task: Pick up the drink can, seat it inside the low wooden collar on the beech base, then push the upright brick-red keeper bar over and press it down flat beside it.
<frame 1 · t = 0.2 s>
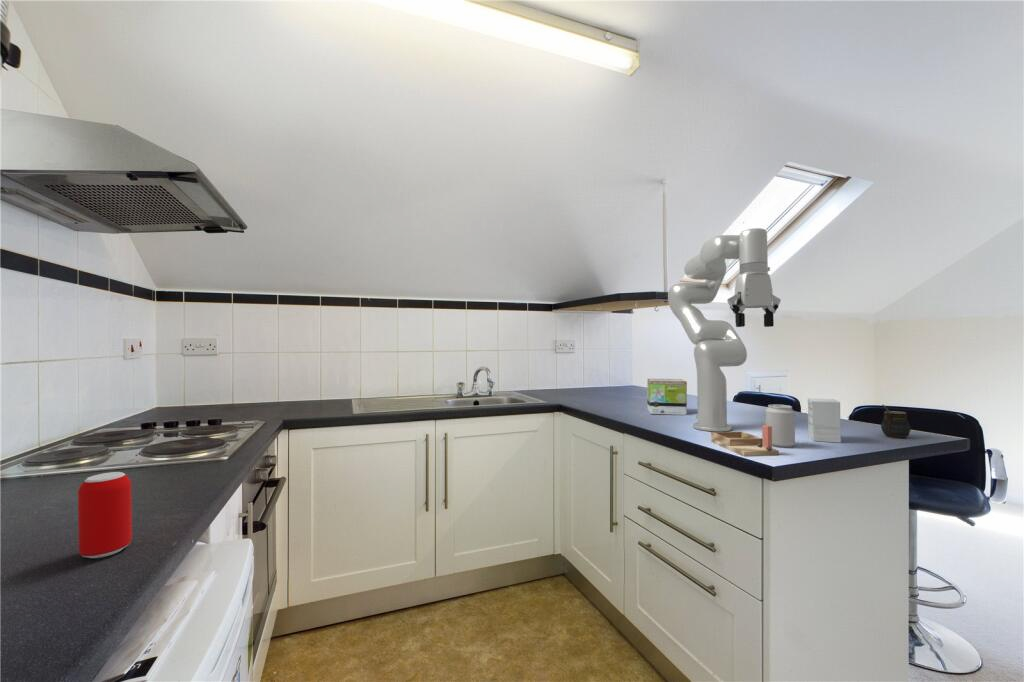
hand: (754, 326, 133), 36 cm above the counter, tool pointing down, fingers open, 9 cm apart
can: (780, 445, 132), on the counter
mate gourd: (894, 437, 141), on the counter
tea box: (666, 413, 191), on the counter
beverage can: (106, 553, 69), on the counter
supplement box: (823, 440, 138), on the counter
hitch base: (742, 448, 129), on the counter
keeper: (767, 436, 123), point 5 cm above the counter, hinge at 90.0°
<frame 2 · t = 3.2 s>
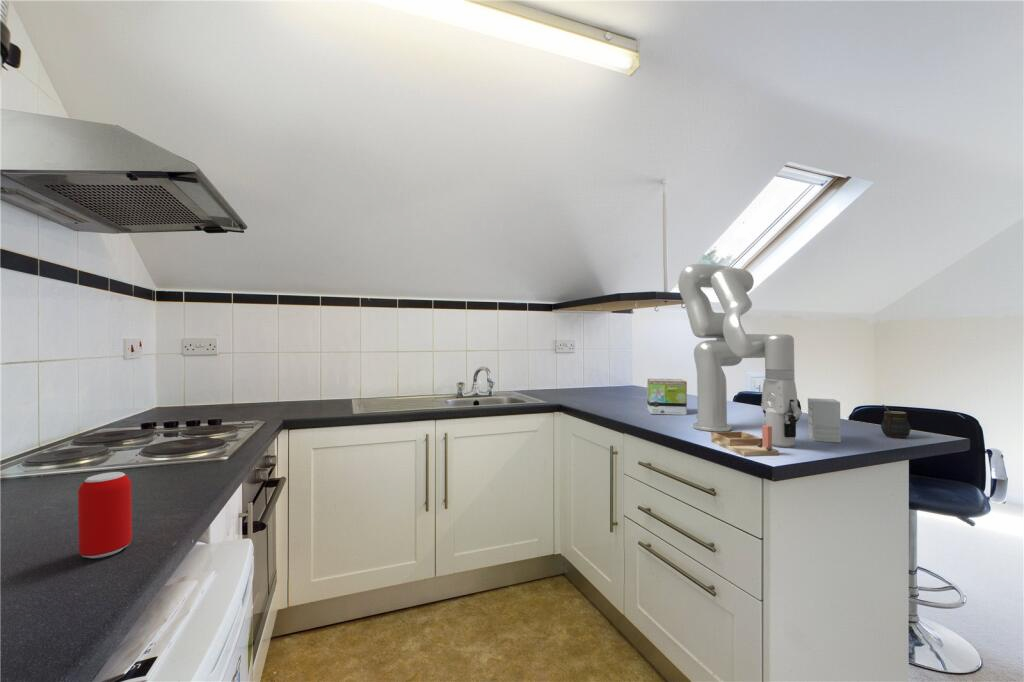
hand: (780, 433, 132), 3 cm above the counter, tool pointing down, fingers closed on can, 7 cm apart
can: (780, 445, 132), on the counter, touching gripper
everything else where it was.
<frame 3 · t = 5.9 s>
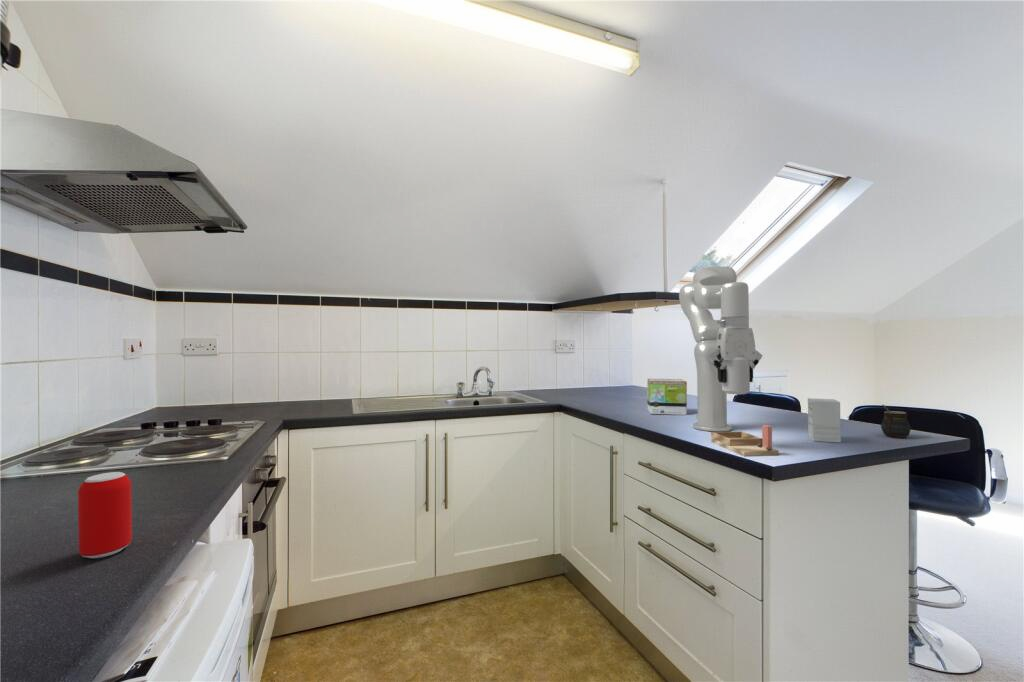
hand: (735, 381, 132), 19 cm above the counter, tool pointing down, fingers closed on can, 7 cm apart
can: (735, 393, 132), point 16 cm above the counter, touching gripper
everything else where it was.
when the fingers open (6 cm above the counter, at t = 8.7 s): can drops 2 cm, resting on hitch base.
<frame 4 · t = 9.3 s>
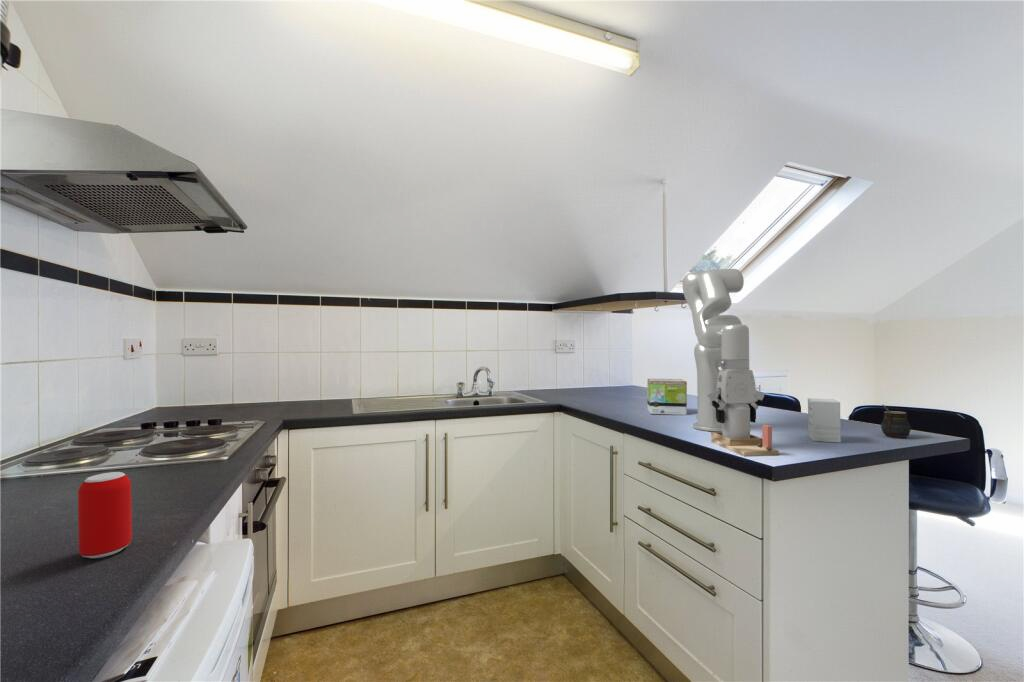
hand: (736, 422, 132), 7 cm above the counter, tool pointing down, fingers open, 9 cm apart
can: (736, 441, 132), point 1 cm above the counter, touching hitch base
everything else where it was.
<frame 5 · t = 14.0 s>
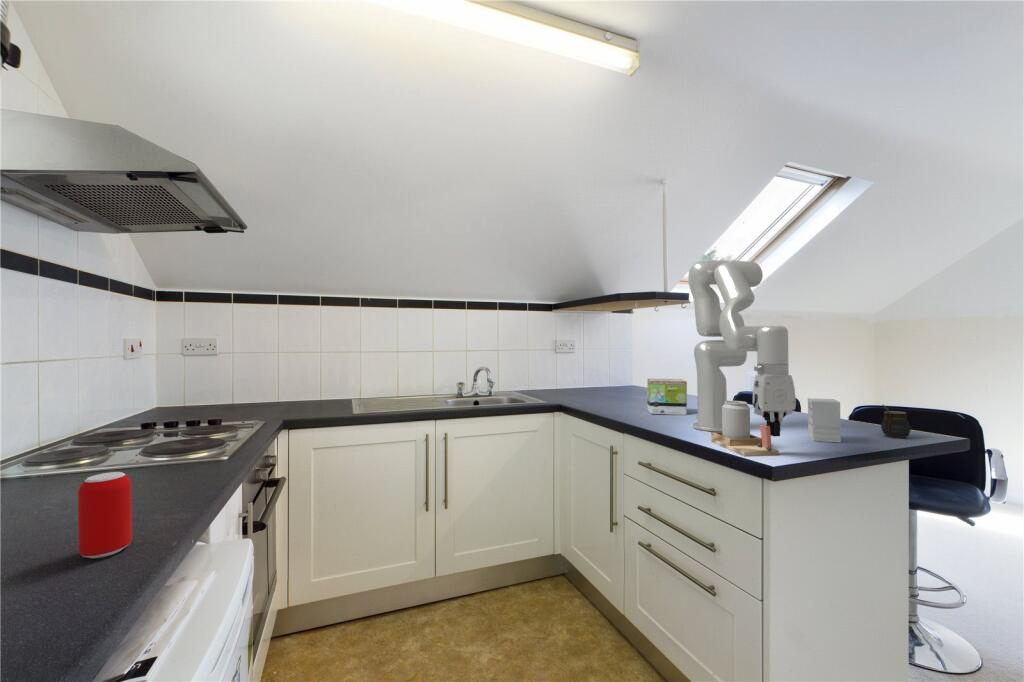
hand: (773, 435, 123), 5 cm above the counter, tool pointing down, fingers closed
keeper: (765, 436, 123), point 5 cm above the counter, hinge at 84.6°, touching gripper
everything else where it was.
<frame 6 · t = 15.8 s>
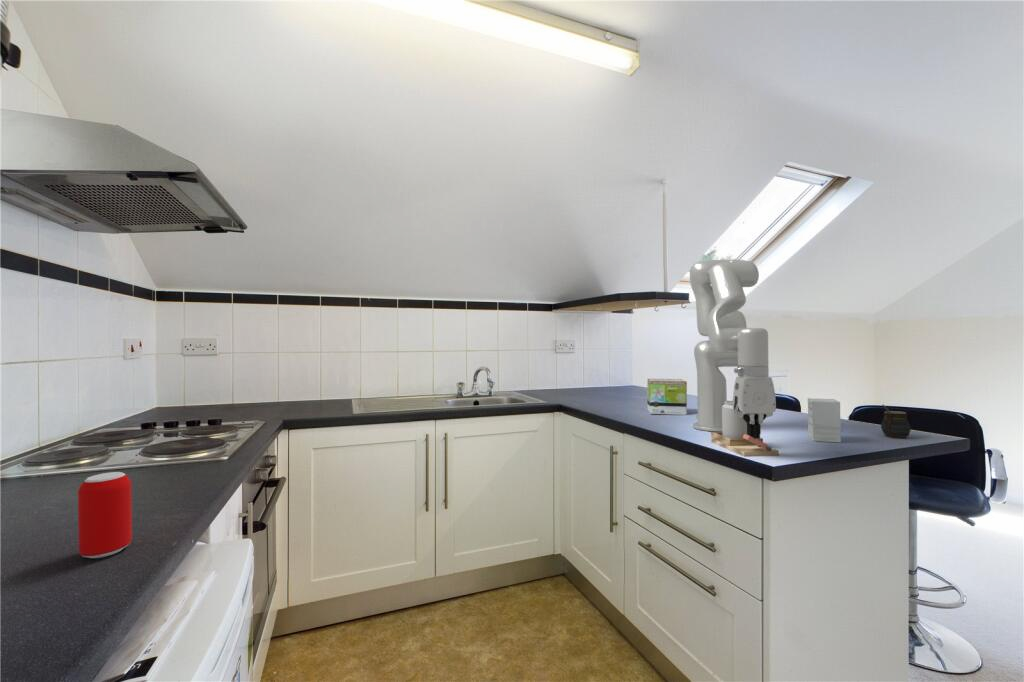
hand: (753, 437, 122), 4 cm above the counter, tool pointing down, fingers closed
keeper: (755, 441, 122), point 3 cm above the counter, hinge at 27.1°, touching gripper
everything else where it was.
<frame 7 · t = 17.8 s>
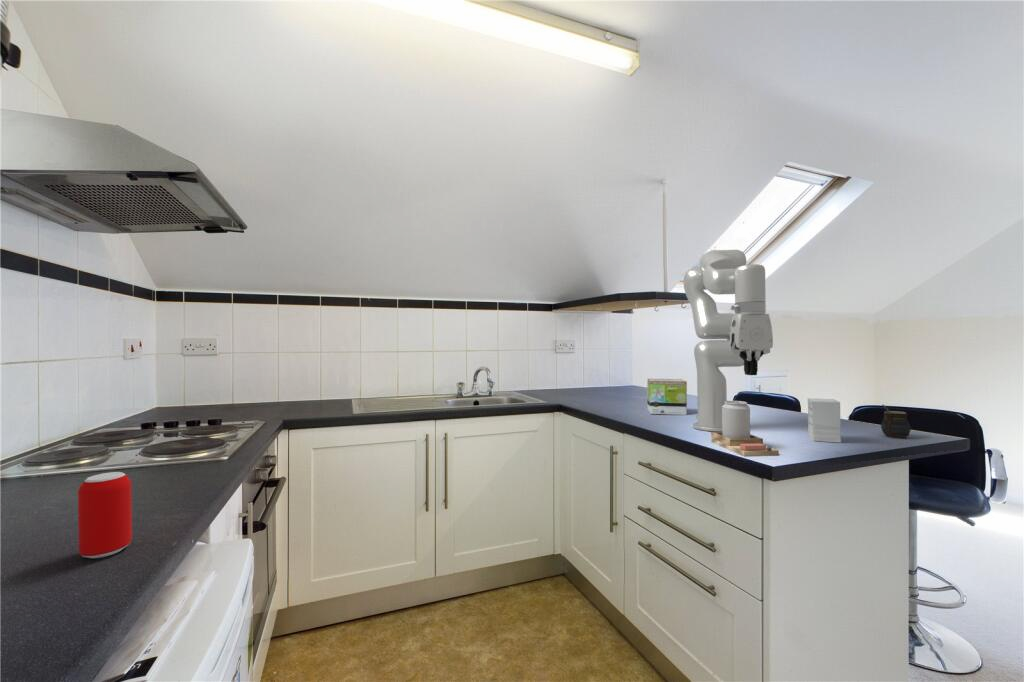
hand: (750, 374, 123), 22 cm above the counter, tool pointing down, fingers closed
keeper: (752, 446, 122), point 2 cm above the counter, hinge at 0.5°
everything else where it was.
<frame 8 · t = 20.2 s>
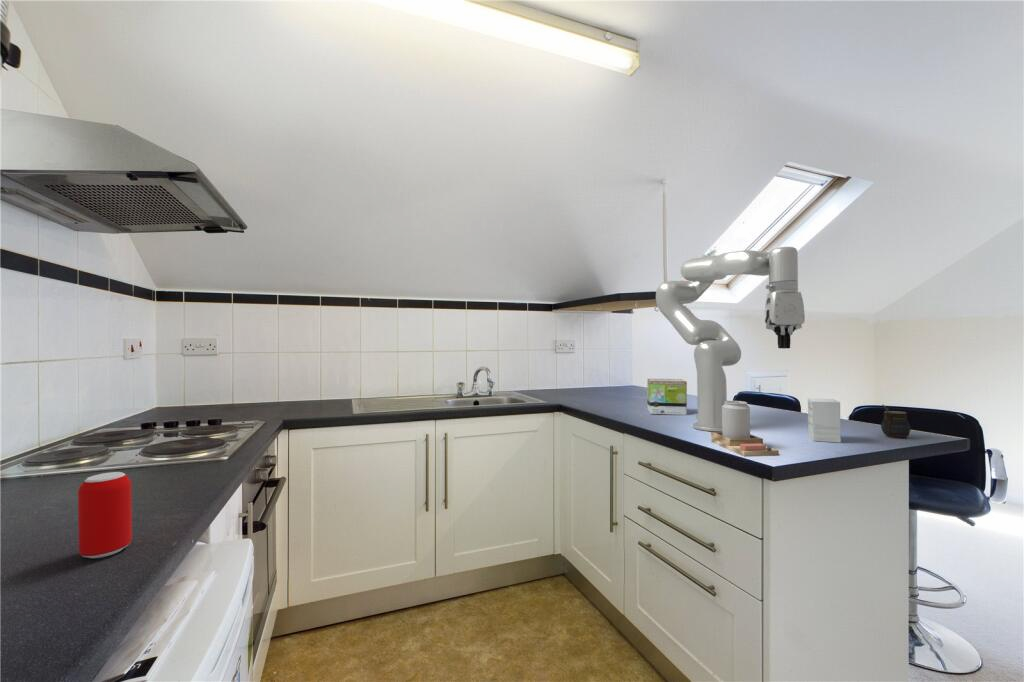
hand: (784, 348, 134), 29 cm above the counter, tool pointing down, fingers closed
keeper: (752, 446, 122), point 2 cm above the counter, hinge at -0.1°
everything else where it was.
at the end: can inside the target area on the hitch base (0.2 cm from its centre), point 1.0 cm above the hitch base's base; can tilted 0°; keeper at +0° (first picture: +90°) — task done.
